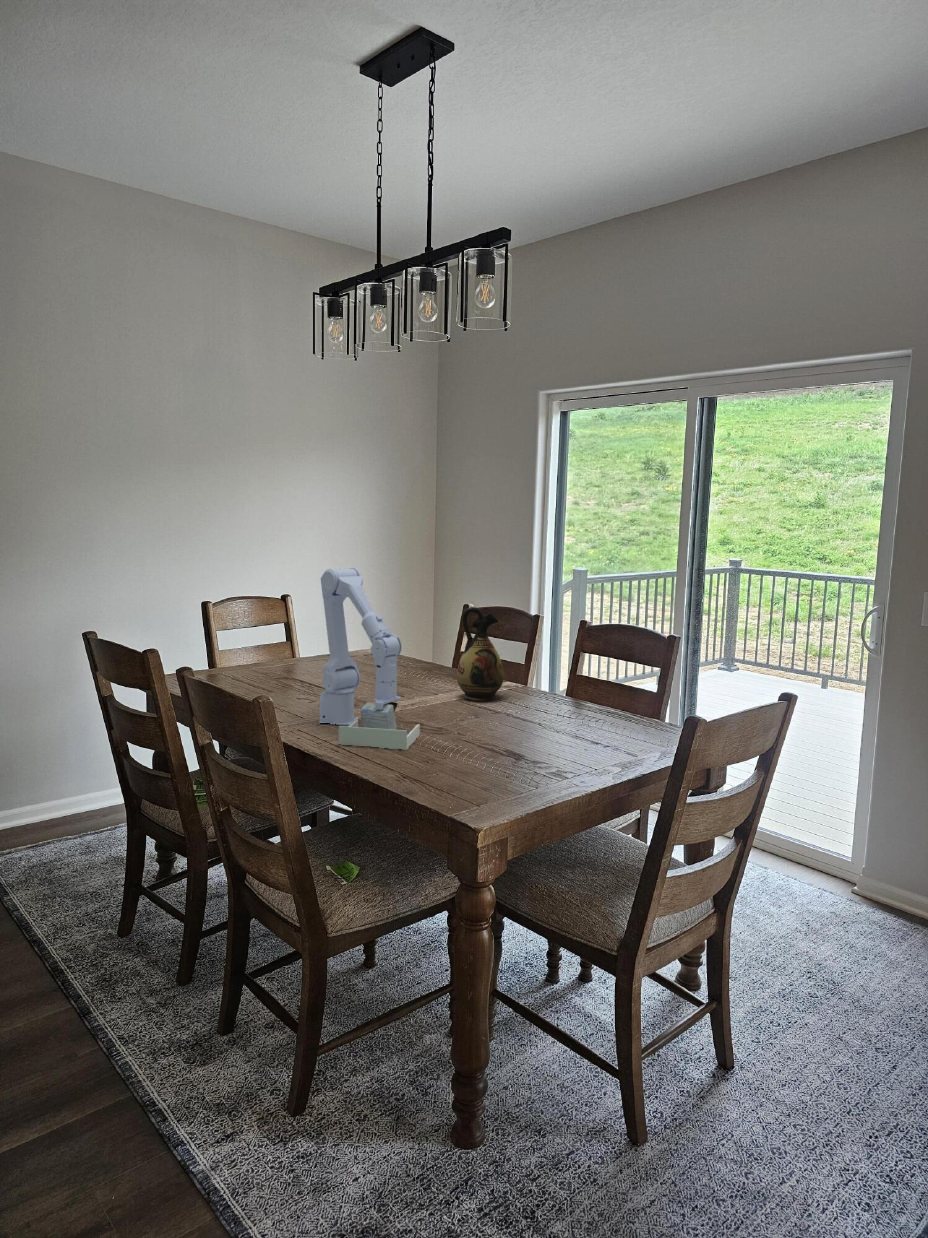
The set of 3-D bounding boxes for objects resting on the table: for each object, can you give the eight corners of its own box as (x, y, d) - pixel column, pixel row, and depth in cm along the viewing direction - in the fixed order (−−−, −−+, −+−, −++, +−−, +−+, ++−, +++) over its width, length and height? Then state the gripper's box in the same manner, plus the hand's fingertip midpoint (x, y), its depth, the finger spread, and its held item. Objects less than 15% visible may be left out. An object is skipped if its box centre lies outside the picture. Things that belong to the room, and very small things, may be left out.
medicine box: (397, 732, 219) (393, 704, 215) (390, 741, 215) (386, 712, 212) (371, 729, 222) (367, 701, 218) (364, 737, 218) (359, 709, 214)
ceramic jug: (504, 694, 274) (506, 605, 270) (502, 704, 258) (504, 611, 255) (454, 692, 275) (455, 604, 271) (448, 702, 260) (450, 609, 256)
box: (338, 745, 210) (338, 726, 210) (356, 730, 225) (356, 713, 224) (406, 750, 207) (406, 731, 207) (419, 735, 221) (419, 717, 221)
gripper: (393, 686, 211) (393, 737, 213) (407, 676, 226) (406, 723, 227) (367, 685, 213) (367, 736, 214) (382, 674, 227) (382, 722, 229)
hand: (385, 729), depth 221 cm, fingers closed
